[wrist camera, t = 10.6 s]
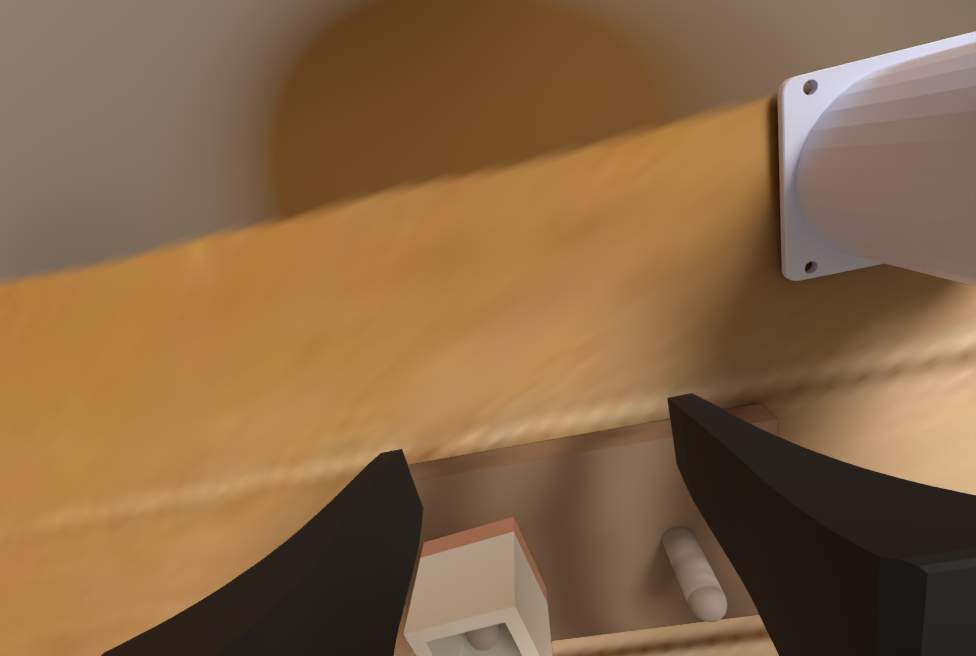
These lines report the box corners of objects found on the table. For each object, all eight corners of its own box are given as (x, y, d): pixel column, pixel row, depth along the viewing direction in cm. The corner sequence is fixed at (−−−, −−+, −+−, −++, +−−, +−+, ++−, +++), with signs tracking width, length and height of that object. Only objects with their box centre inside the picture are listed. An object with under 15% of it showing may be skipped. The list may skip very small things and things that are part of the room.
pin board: (760, 403, 22) (843, 480, 17) (768, 587, 26) (838, 699, 20) (370, 471, 24) (331, 559, 19) (430, 631, 28) (411, 744, 23)
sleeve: (513, 516, 23) (515, 606, 18) (545, 587, 25) (555, 687, 20) (423, 542, 24) (403, 634, 19) (460, 609, 25) (449, 710, 21)
